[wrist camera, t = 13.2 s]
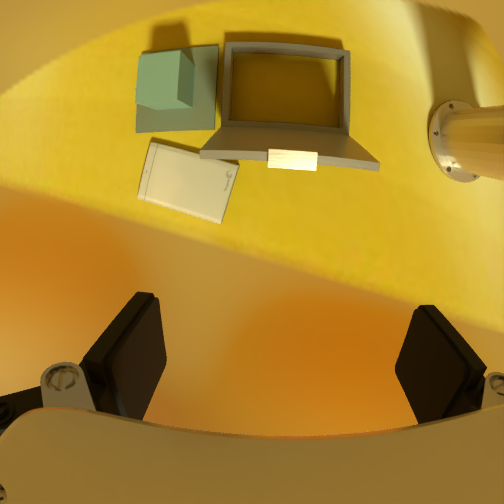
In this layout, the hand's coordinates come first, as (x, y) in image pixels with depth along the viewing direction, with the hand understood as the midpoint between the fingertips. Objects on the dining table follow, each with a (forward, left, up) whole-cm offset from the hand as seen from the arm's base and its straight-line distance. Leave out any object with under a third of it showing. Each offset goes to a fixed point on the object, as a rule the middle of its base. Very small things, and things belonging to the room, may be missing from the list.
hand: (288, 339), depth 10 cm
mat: (+14, -15, -30) cm, 36 cm away
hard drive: (+12, -2, -31) cm, 33 cm away
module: (+13, -15, -30) cm, 36 cm away
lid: (-1, -8, -22) cm, 23 cm away
